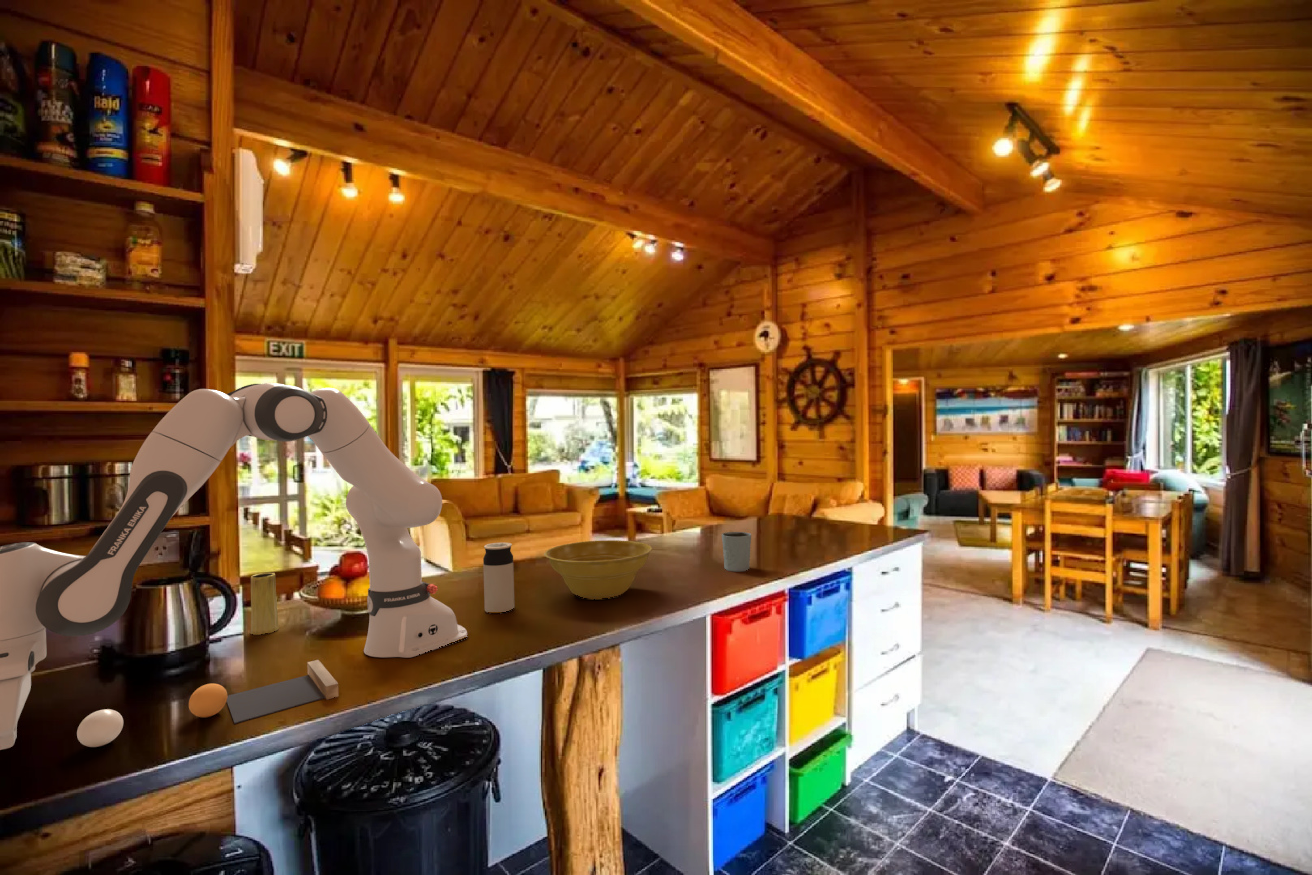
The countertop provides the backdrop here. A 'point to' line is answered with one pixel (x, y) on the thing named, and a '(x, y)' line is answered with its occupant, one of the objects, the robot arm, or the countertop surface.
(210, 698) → the orange egg
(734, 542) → the grey cup
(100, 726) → the white egg
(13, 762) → the countertop surface
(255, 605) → the vase
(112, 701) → the countertop surface
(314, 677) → the pine strip
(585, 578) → the planter bowl
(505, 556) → the travel mug
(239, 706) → the dark gray mat
